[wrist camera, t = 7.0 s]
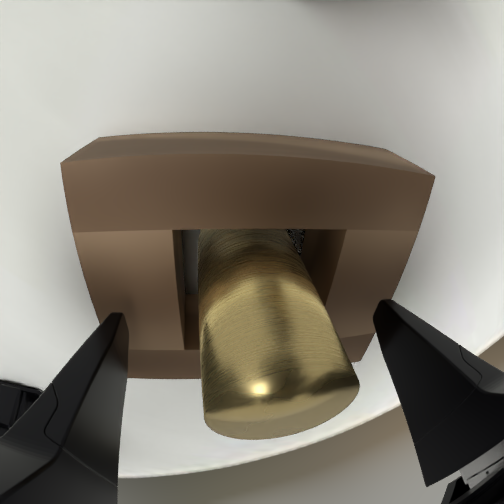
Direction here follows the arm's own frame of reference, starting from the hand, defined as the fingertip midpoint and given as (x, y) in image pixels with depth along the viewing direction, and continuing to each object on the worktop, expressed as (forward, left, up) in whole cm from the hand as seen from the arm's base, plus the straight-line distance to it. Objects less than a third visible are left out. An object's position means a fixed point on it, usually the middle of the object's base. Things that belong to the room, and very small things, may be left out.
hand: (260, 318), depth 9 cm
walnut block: (0, 0, -4) cm, 4 cm away
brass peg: (0, 0, -4) cm, 5 cm away
